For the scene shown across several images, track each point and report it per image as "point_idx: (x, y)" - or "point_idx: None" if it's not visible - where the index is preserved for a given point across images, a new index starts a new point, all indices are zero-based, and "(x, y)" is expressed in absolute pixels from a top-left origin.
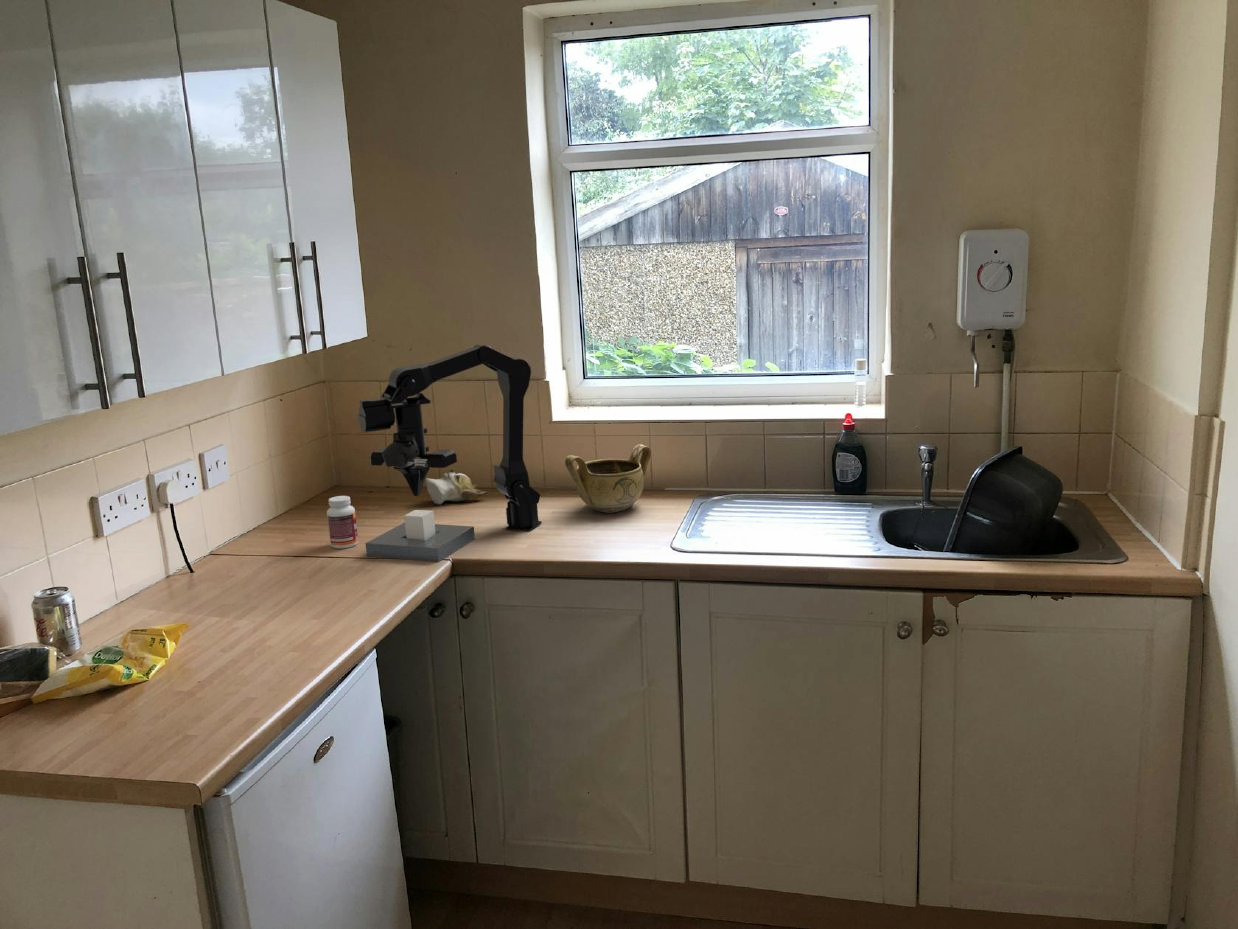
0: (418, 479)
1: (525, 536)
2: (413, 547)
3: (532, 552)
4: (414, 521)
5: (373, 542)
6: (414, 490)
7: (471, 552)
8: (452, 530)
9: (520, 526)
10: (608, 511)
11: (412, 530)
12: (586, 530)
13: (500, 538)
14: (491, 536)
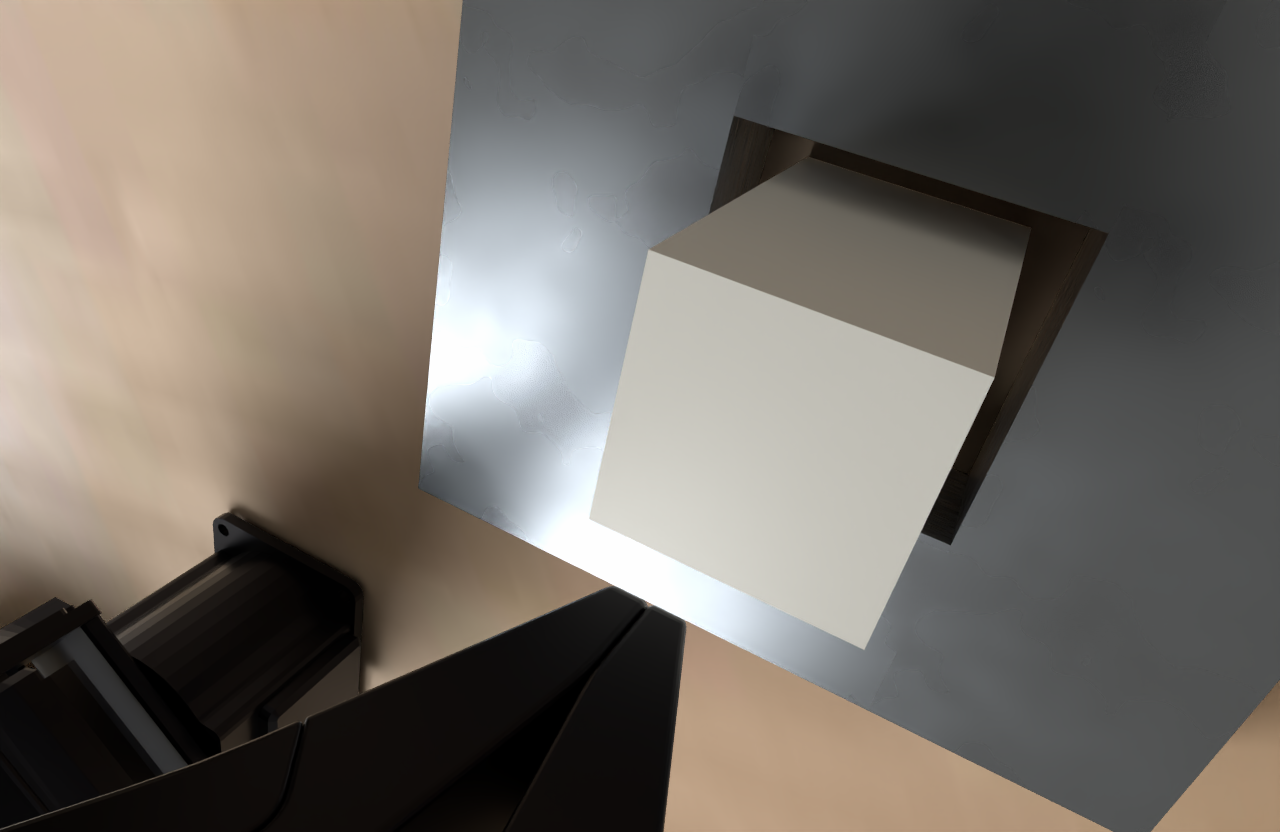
0: (170, 776)
1: (215, 424)
2: None
3: (40, 66)
4: (824, 282)
5: None
6: (592, 670)
7: (396, 95)
8: (552, 419)
9: (261, 559)
10: (28, 667)
11: (902, 259)
12: (9, 452)
13: (332, 419)
14: (401, 478)
